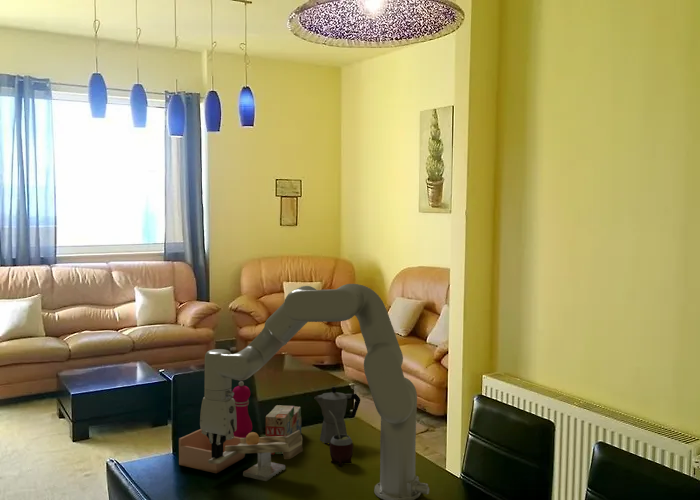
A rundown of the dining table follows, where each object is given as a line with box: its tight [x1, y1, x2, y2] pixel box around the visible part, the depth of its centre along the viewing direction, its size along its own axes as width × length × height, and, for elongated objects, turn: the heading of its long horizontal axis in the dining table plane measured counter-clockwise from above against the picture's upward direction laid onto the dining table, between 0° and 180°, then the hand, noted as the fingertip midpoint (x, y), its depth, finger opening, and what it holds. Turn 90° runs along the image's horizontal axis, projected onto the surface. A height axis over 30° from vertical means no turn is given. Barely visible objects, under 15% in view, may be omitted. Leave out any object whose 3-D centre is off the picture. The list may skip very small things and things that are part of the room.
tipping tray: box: [208, 430, 304, 464], centre depth 191 cm, size 22×16×6 cm
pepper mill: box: [231, 380, 253, 438], centre depth 222 cm, size 7×7×20 cm
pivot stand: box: [242, 452, 286, 482], centre depth 195 cm, size 8×10×6 cm
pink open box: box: [178, 428, 246, 474], centre depth 204 cm, size 14×14×8 cm
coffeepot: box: [313, 386, 361, 445], centre depth 222 cm, size 15×9×18 cm, turn 95°
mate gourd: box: [329, 410, 354, 468], centre depth 203 cm, size 8×8×15 cm
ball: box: [246, 431, 260, 445], centre depth 197 cm, size 4×4×4 cm
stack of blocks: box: [265, 404, 302, 455], centre depth 220 cm, size 21×6×12 cm, turn 170°
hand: (217, 456), depth 191 cm, fingers closed
